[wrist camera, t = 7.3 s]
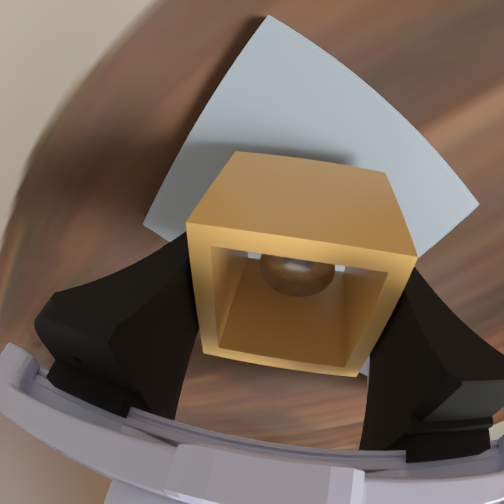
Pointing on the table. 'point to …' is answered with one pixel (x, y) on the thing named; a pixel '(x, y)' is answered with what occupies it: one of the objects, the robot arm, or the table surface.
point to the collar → (298, 247)
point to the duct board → (308, 146)
